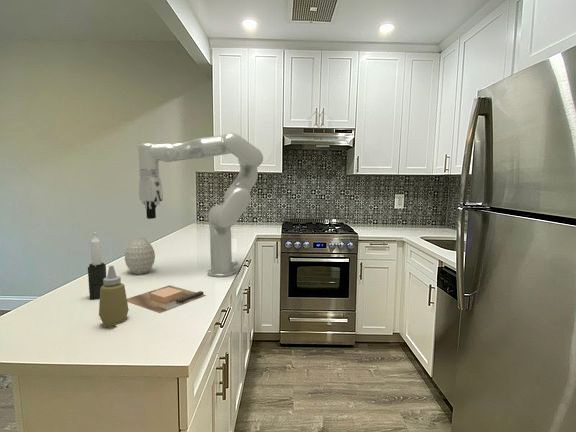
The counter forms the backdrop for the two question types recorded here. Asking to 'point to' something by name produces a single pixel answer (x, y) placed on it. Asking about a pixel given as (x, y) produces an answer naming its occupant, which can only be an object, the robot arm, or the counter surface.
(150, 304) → the board
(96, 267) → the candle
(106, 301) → the squeeze bottle
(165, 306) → the turner
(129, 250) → the vase
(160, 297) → the tile
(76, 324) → the counter surface
